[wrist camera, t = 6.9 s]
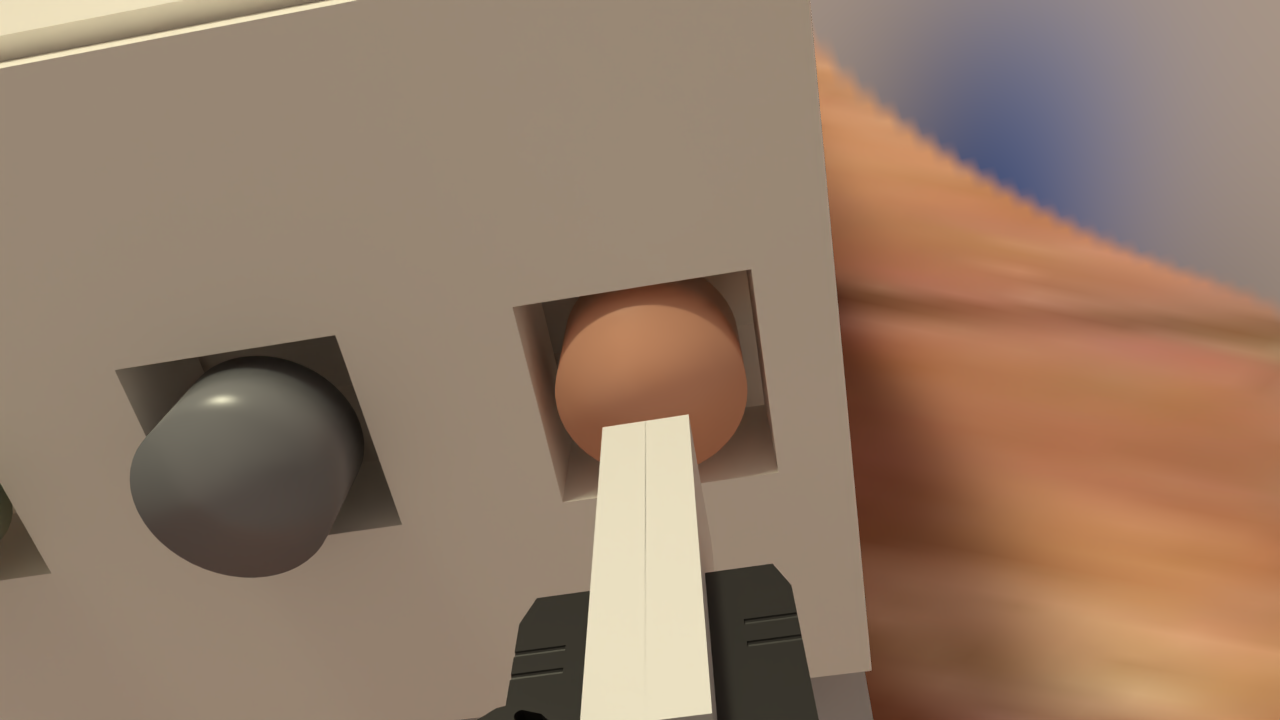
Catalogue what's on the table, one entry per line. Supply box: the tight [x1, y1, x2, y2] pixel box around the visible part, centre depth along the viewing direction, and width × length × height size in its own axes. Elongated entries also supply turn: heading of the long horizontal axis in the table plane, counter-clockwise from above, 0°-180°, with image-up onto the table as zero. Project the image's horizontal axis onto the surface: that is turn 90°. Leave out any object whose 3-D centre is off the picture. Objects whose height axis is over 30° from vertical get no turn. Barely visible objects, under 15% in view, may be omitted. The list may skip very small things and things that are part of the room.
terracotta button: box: [555, 277, 747, 464], centre depth 21 cm, size 4×4×4 cm
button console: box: [0, 0, 873, 720], centre depth 23 cm, size 25×17×17 cm
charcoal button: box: [130, 356, 364, 578], centre depth 20 cm, size 4×4×4 cm
